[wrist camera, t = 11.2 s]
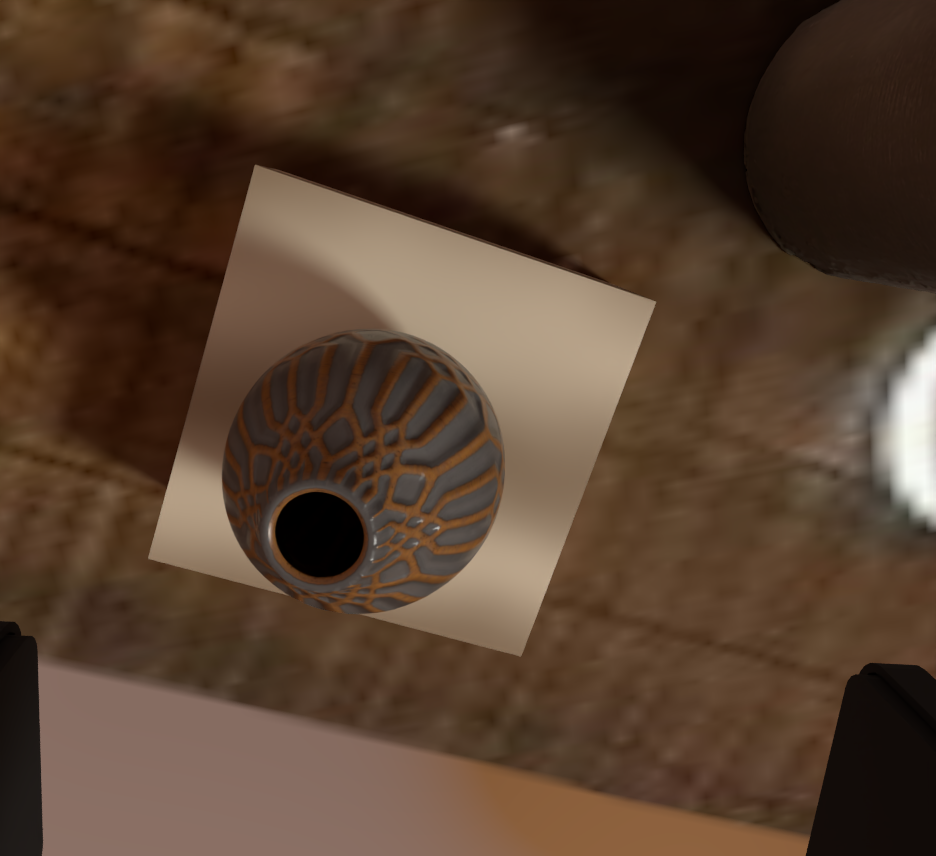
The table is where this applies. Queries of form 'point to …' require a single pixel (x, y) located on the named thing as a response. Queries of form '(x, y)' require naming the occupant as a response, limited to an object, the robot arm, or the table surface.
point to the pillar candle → (851, 143)
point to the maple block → (441, 323)
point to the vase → (363, 471)
